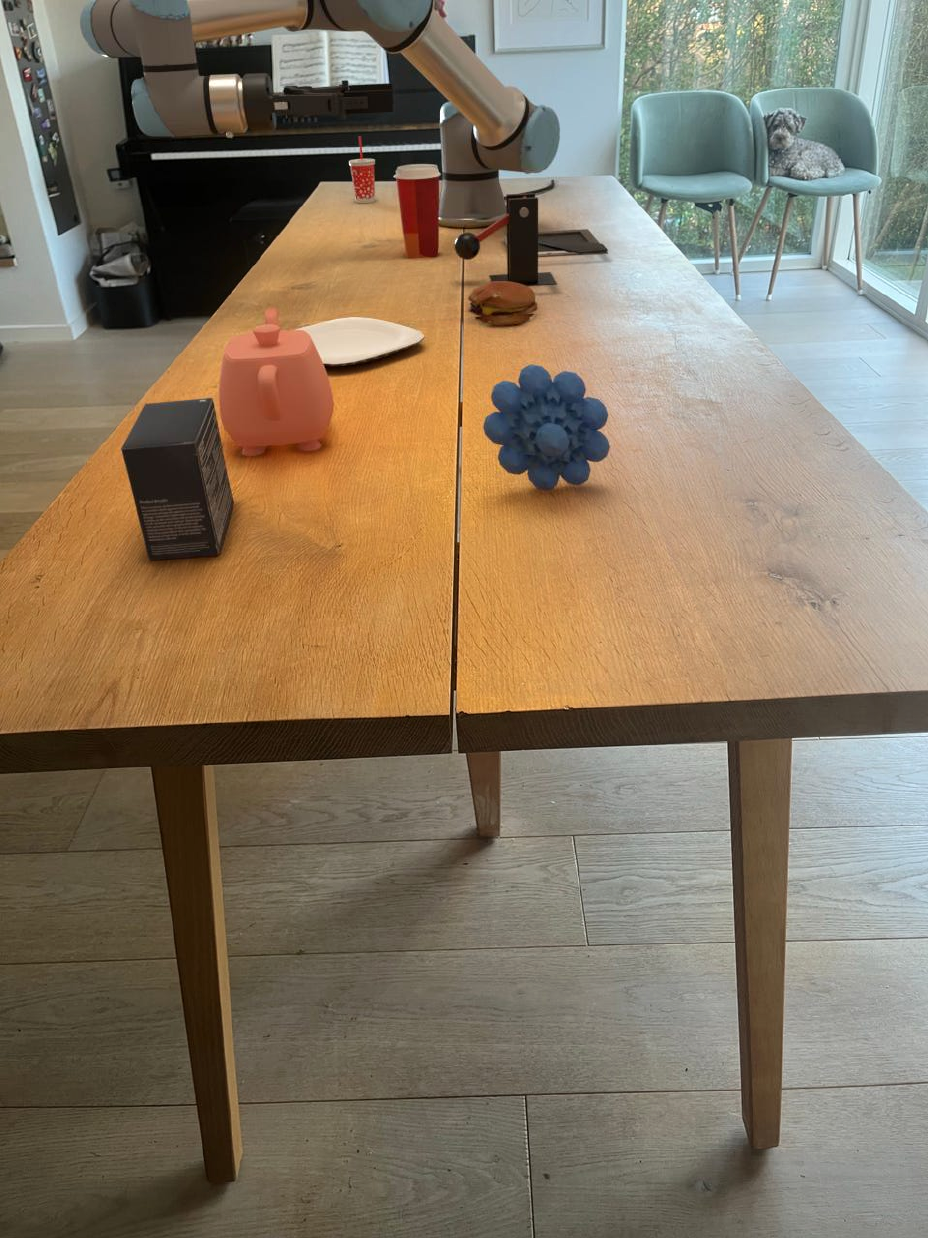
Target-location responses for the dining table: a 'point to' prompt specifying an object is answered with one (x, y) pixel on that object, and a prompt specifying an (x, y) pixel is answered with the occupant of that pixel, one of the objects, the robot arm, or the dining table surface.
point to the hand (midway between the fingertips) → (392, 96)
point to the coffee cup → (419, 208)
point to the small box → (179, 479)
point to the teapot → (274, 389)
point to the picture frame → (568, 243)
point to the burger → (502, 302)
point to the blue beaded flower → (547, 427)
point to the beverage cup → (363, 178)
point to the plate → (359, 340)
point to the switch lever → (476, 239)
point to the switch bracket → (523, 243)
